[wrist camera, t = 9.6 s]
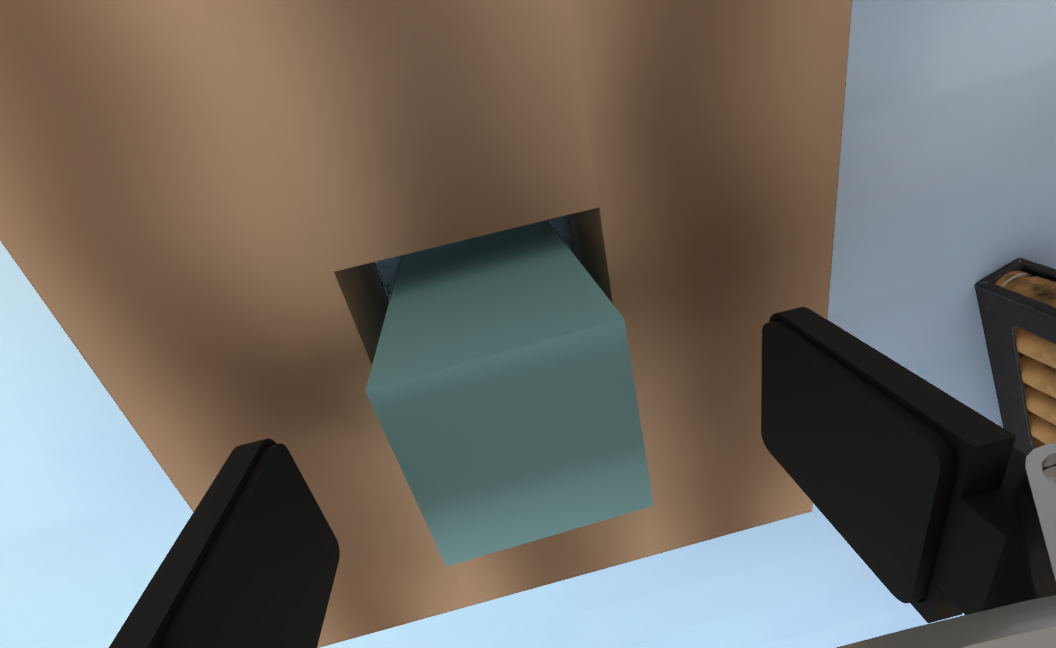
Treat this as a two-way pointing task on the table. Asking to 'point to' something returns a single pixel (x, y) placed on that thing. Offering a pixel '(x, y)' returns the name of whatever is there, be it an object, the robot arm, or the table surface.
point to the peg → (508, 393)
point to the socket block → (422, 232)
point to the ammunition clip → (1022, 349)
